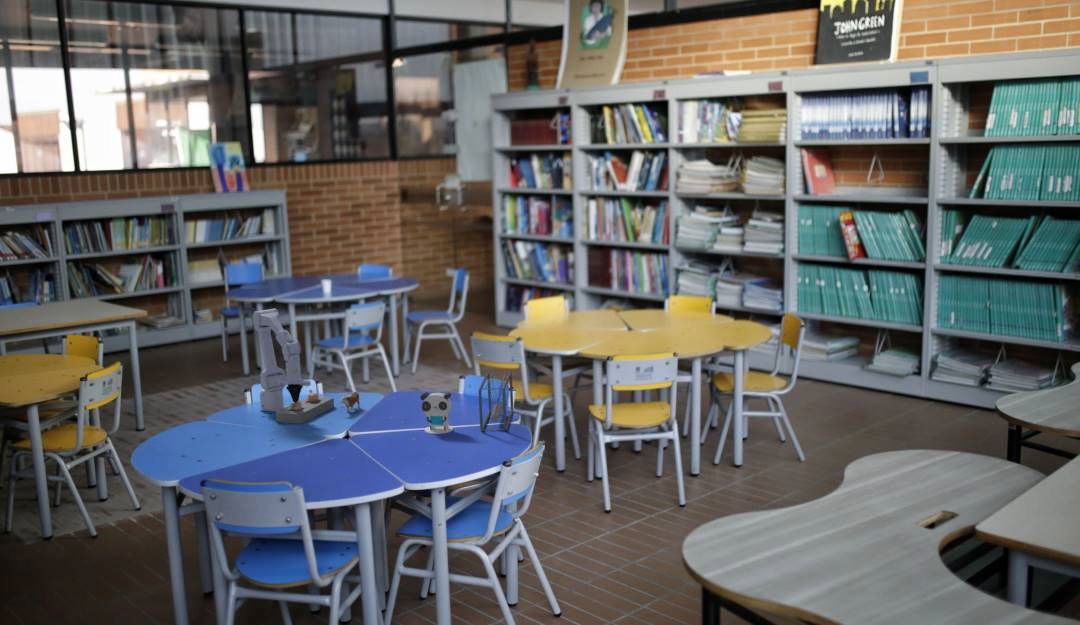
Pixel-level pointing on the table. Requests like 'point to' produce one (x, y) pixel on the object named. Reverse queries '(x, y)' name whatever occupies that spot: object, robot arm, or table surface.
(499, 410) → the newton's cradle
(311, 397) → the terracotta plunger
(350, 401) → the bull figurine
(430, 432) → the panda figurine
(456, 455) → the table surface
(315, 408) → the block
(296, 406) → the birch plunger
